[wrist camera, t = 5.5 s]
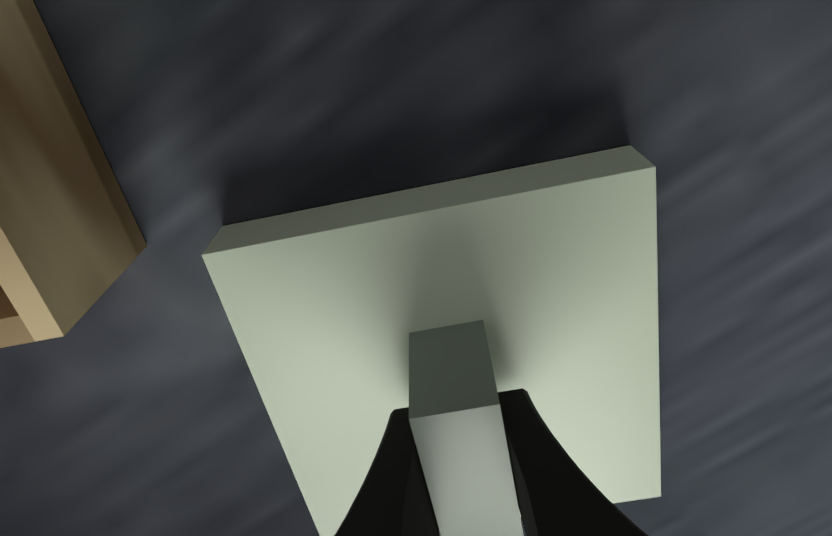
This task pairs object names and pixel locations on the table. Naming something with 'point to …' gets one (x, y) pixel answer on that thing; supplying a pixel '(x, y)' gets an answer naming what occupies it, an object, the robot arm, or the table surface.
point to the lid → (457, 331)
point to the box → (51, 191)
